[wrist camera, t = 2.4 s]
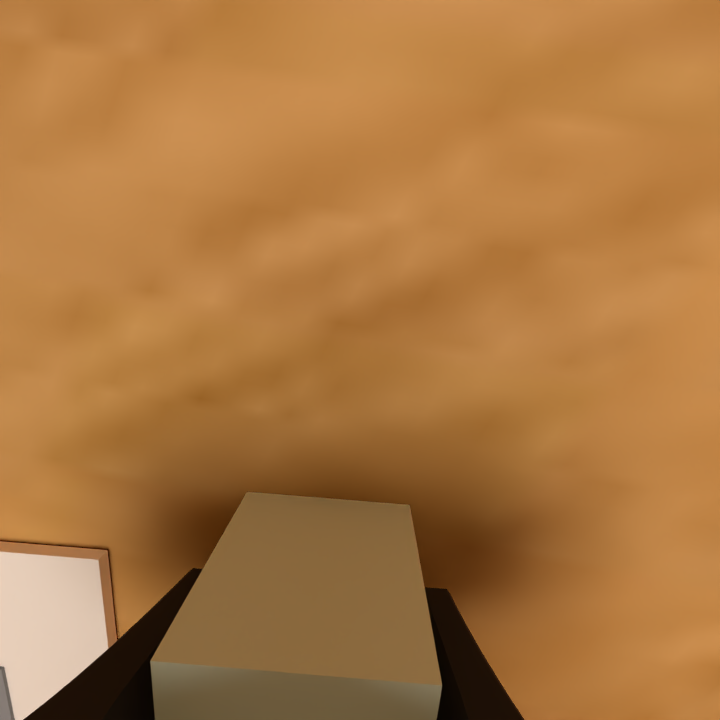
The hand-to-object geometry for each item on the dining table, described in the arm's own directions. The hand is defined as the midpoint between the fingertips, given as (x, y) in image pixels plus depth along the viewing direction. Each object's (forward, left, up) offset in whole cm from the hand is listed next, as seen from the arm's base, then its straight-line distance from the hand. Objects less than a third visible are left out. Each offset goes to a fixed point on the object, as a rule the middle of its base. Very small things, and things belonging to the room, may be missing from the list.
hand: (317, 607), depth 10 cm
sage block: (0, 0, -2) cm, 2 cm away
